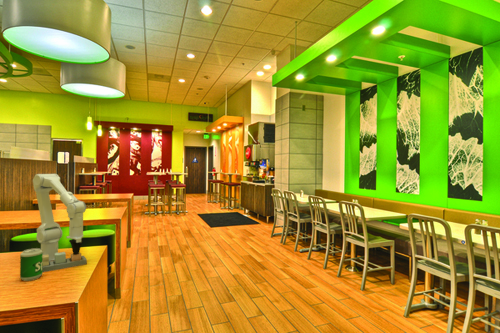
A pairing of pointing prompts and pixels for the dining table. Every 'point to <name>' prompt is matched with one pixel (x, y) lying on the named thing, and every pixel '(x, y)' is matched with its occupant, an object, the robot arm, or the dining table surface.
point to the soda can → (31, 264)
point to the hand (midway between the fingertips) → (76, 254)
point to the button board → (64, 264)
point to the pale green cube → (60, 257)
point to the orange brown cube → (75, 257)
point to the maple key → (45, 260)
